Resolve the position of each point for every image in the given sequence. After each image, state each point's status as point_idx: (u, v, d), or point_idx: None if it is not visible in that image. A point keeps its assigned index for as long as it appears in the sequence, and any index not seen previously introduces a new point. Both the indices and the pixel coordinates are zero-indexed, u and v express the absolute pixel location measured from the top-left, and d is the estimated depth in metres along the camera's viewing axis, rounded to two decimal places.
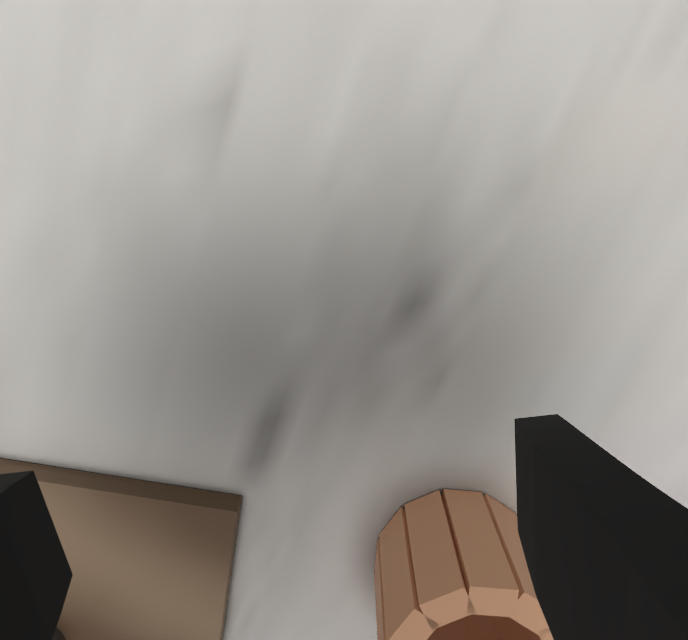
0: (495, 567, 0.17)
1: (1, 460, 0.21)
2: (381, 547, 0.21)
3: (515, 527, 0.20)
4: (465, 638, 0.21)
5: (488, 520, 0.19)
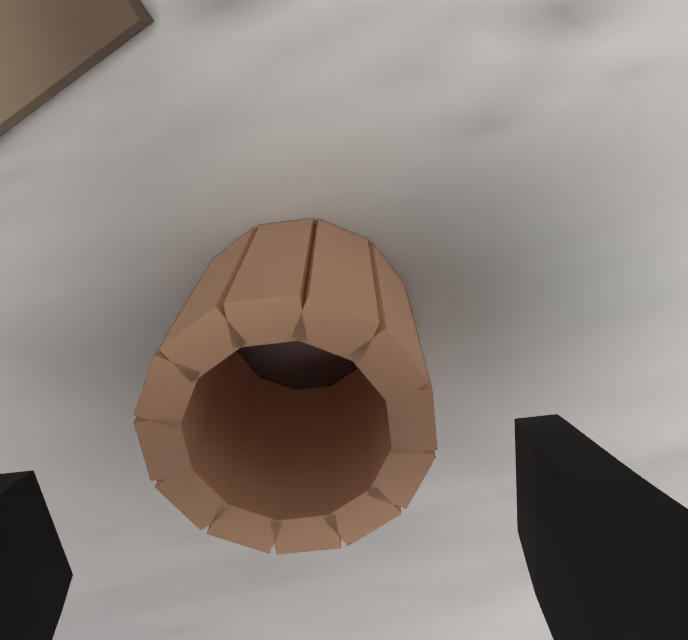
0: (410, 342, 0.12)
1: None
2: (258, 234, 0.14)
3: None
4: (249, 403, 0.15)
5: (406, 306, 0.14)
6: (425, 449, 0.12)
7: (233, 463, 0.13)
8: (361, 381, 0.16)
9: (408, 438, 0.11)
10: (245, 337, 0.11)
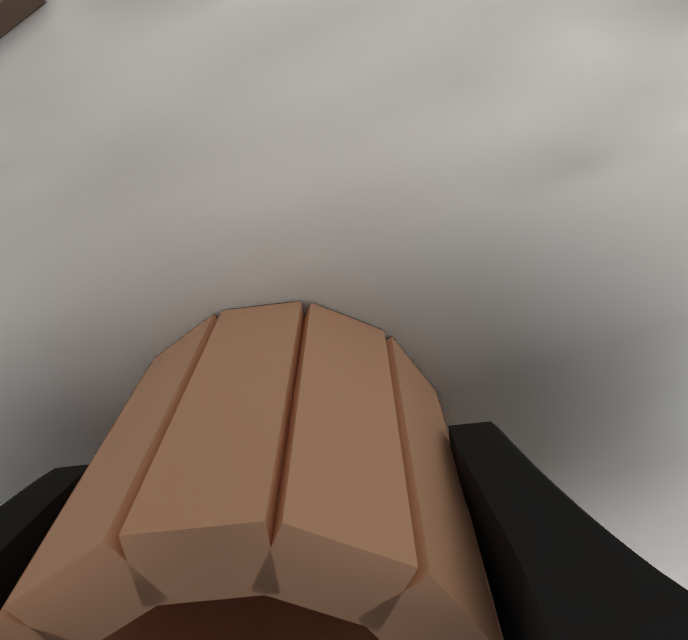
0: (466, 560, 0.07)
1: None
2: (217, 332, 0.09)
3: None
4: None
5: (446, 447, 0.09)
6: None
7: None
8: None
9: None
10: (164, 590, 0.06)
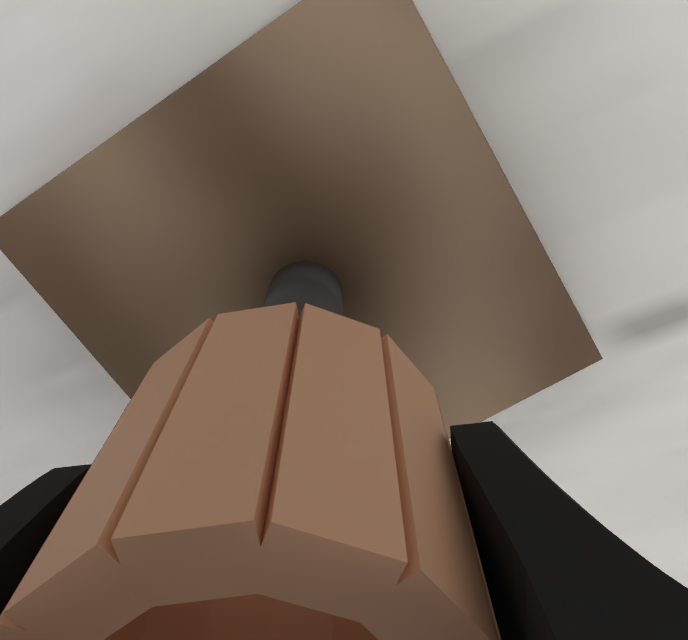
0: (460, 554, 0.07)
1: None
2: (212, 335, 0.09)
3: None
4: None
5: (443, 443, 0.09)
6: None
7: None
8: None
9: None
10: (158, 591, 0.06)
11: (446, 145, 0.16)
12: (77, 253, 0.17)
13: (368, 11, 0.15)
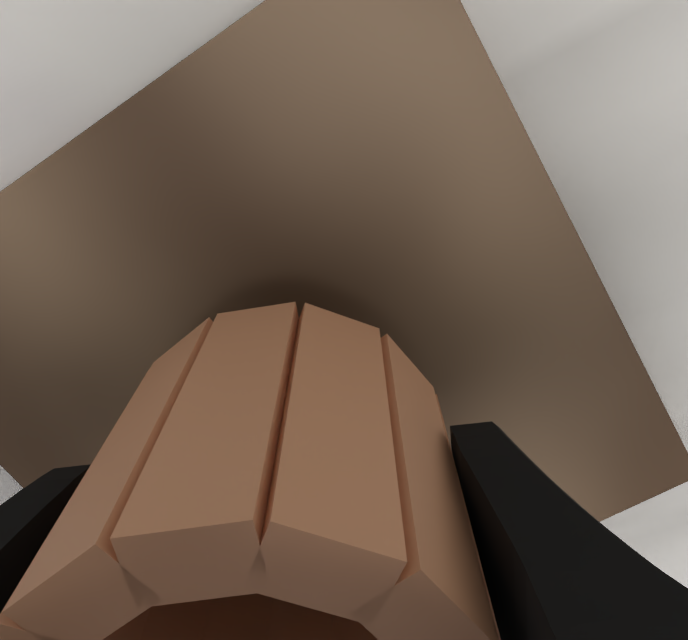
0: (460, 554, 0.07)
1: None
2: (211, 335, 0.09)
3: None
4: None
5: (443, 442, 0.09)
6: None
7: None
8: None
9: None
10: (158, 591, 0.06)
11: (496, 193, 0.11)
12: None
13: None
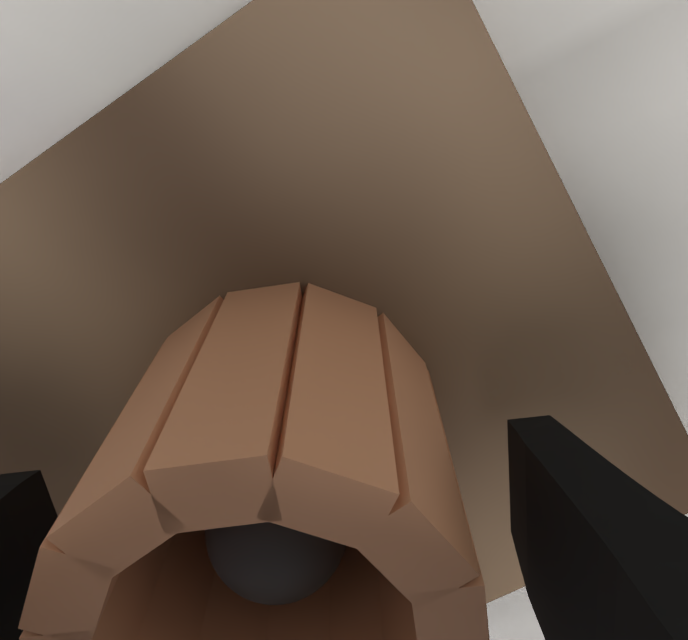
0: (446, 497, 0.08)
1: None
2: (223, 310, 0.10)
3: None
4: None
5: (433, 409, 0.10)
6: None
7: None
8: None
9: None
10: (183, 519, 0.07)
11: (507, 203, 0.10)
12: None
13: None
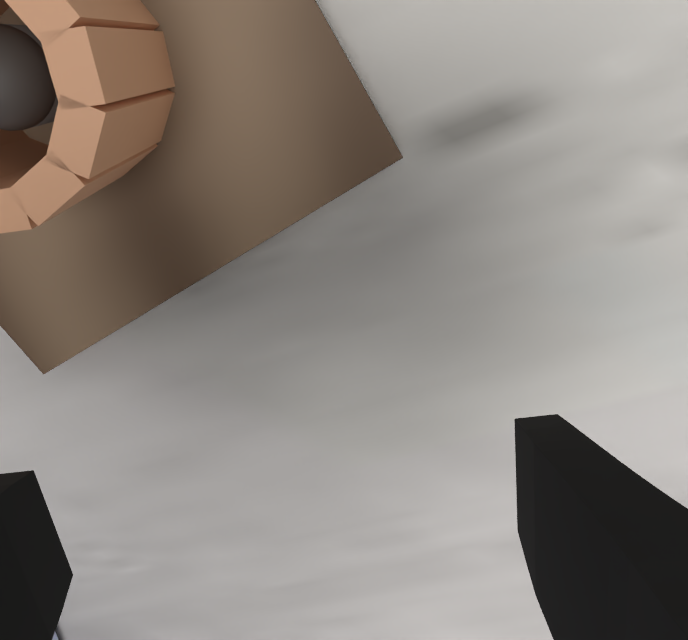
0: None
1: None
2: None
3: (157, 71, 0.15)
4: None
5: (134, 18, 0.14)
6: (94, 105, 0.11)
7: None
8: None
9: (73, 89, 0.11)
10: None
11: None
12: None
13: None
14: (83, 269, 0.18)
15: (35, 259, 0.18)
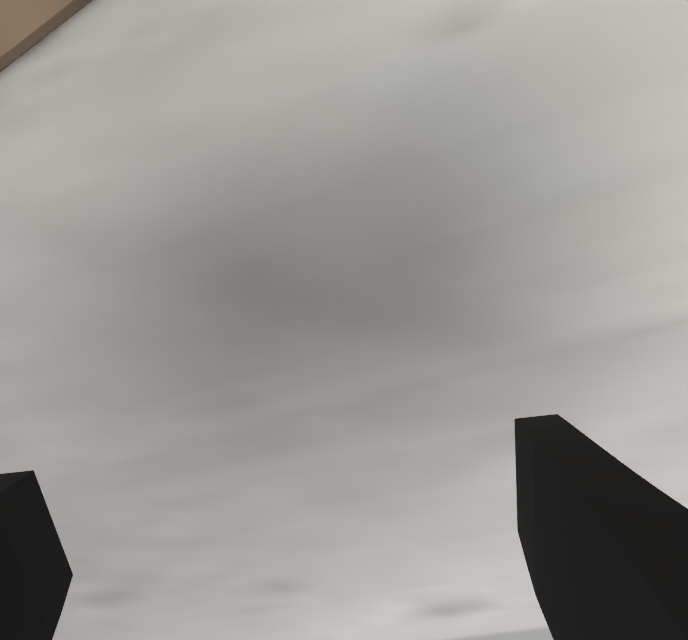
0: None
1: None
2: None
3: None
4: None
5: None
6: None
7: None
8: None
9: None
10: None
11: None
12: None
13: None
14: None
15: None
